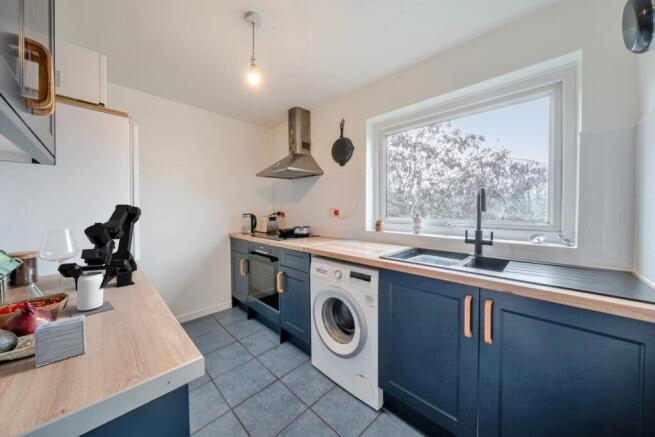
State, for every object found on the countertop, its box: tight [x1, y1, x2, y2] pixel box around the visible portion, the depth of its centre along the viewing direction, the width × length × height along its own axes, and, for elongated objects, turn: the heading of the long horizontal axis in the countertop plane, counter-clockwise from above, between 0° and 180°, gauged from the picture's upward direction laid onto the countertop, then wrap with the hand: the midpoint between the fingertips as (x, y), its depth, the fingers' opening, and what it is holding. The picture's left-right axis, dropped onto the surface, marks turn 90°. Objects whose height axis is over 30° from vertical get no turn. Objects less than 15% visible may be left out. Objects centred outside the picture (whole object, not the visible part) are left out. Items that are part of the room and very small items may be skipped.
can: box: [76, 271, 104, 311], centre depth 82 cm, size 6×6×12 cm
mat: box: [68, 301, 115, 318], centre depth 83 cm, size 10×10×1 cm
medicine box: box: [33, 315, 87, 367], centre depth 57 cm, size 8×4×9 cm, turn 135°
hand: (89, 289), depth 81 cm, fingers closed on can, 6 cm apart
